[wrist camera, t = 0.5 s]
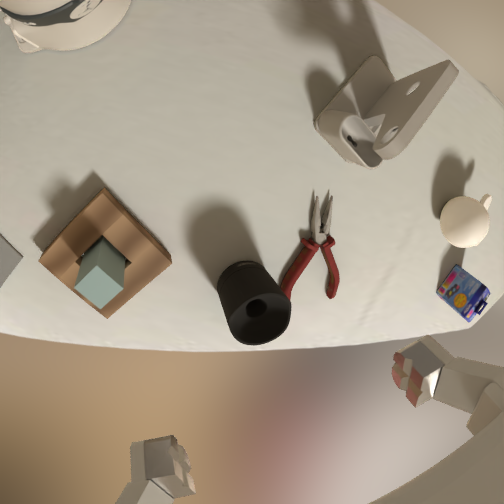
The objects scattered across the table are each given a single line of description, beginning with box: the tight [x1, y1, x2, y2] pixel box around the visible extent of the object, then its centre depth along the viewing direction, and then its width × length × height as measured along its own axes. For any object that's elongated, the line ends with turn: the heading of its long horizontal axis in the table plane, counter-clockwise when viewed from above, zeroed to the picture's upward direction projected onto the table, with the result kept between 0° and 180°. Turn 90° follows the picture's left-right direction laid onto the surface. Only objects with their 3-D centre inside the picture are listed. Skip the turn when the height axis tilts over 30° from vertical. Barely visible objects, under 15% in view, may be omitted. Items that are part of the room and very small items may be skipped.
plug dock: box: [39, 187, 172, 319], centre depth 42 cm, size 14×14×2 cm
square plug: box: [74, 235, 125, 309], centre depth 39 cm, size 4×4×9 cm
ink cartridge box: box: [436, 264, 490, 322], centre depth 68 cm, size 10×6×14 cm, turn 143°
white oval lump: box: [440, 194, 492, 248], centre depth 57 cm, size 12×12×15 cm
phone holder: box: [314, 56, 459, 169], centre depth 37 cm, size 17×10×18 cm, turn 139°
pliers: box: [281, 196, 339, 300], centre depth 53 cm, size 12×20×3 cm, turn 176°
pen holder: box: [218, 261, 291, 345], centre depth 48 cm, size 9×9×10 cm
